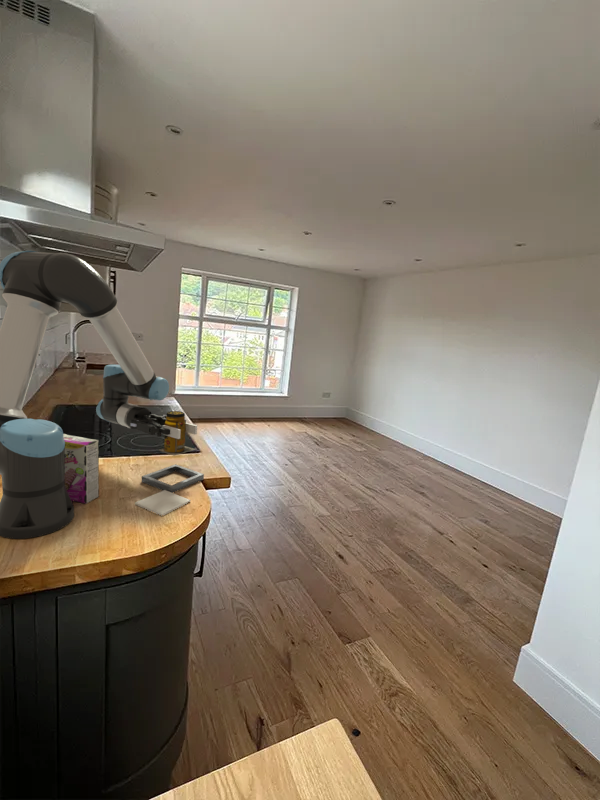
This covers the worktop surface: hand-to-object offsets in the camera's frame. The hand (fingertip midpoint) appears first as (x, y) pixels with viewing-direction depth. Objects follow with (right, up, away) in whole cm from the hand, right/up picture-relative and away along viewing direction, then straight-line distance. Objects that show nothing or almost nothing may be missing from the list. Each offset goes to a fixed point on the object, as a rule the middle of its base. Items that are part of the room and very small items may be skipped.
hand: (187, 432), depth 110 cm
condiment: (-5, -6, +4) cm, 9 cm away
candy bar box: (-27, -17, -11) cm, 34 cm away
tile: (-4, -19, -9) cm, 21 cm away
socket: (-6, -16, +5) cm, 18 cm away
